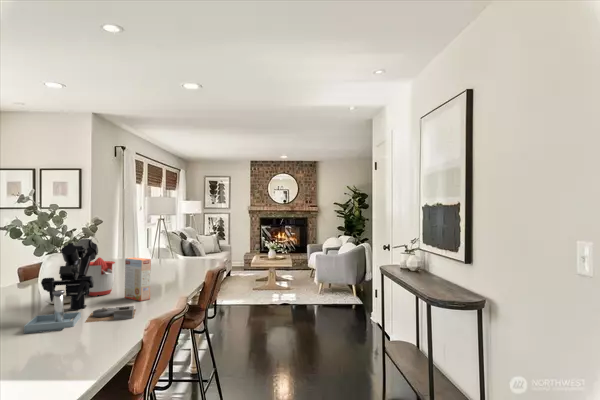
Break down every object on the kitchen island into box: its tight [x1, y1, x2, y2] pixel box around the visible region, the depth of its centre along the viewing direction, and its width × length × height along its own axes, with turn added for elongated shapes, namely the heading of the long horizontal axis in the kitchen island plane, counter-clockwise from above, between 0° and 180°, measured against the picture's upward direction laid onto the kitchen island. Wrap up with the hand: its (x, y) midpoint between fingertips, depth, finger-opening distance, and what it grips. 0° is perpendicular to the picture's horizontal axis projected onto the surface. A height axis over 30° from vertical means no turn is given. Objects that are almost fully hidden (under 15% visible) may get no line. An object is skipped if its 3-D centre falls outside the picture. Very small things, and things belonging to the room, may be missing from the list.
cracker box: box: [124, 257, 152, 302], centre depth 195 cm, size 14×6×21 cm, turn 58°
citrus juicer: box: [86, 257, 116, 297], centre depth 205 cm, size 16×17×20 cm
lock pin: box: [52, 289, 66, 322], centre depth 149 cm, size 4×4×13 cm
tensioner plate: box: [84, 305, 137, 324], centre depth 160 cm, size 15×18×4 cm
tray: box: [23, 311, 82, 335], centre depth 149 cm, size 14×16×3 cm
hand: (64, 300), depth 154 cm, fingers open, 9 cm apart
